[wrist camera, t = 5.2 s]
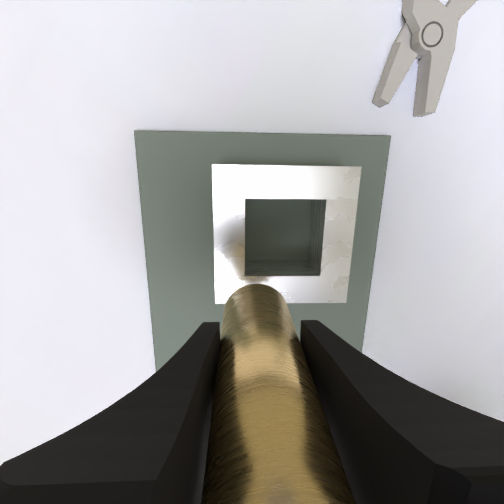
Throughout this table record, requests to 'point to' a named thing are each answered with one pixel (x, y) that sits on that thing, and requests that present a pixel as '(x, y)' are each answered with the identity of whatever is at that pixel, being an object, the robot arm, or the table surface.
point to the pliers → (422, 51)
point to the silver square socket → (321, 230)
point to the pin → (268, 413)
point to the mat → (256, 224)
